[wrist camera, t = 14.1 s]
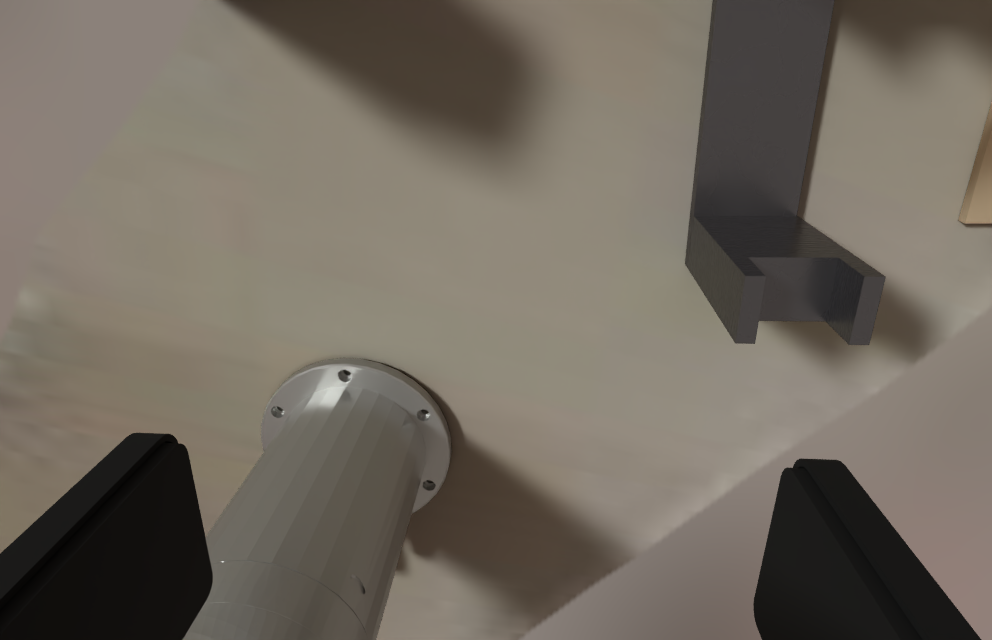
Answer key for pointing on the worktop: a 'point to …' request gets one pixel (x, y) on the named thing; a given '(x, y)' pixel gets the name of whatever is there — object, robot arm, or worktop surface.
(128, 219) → the worktop surface
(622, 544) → the worktop surface
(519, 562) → the worktop surface
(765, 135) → the rack
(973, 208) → the mat
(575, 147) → the worktop surface
